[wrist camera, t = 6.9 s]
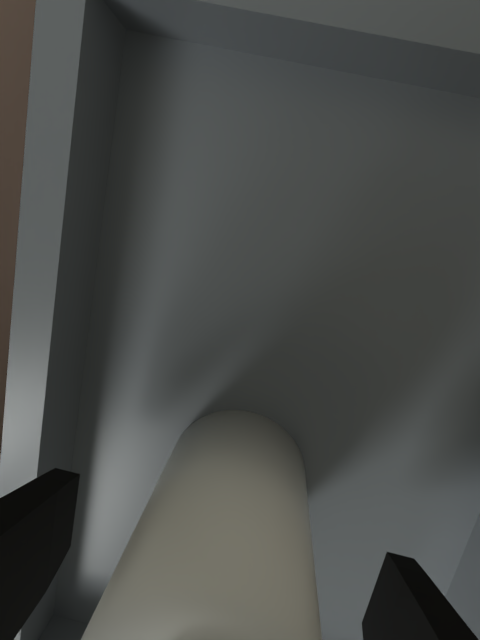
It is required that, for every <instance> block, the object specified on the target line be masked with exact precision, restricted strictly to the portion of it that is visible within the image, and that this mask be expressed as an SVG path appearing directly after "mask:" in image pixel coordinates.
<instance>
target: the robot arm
mask: <svg viewBox="0 0 480 640" xmlns="http://www.w3.org/2000/svg"><path fill="white" fill-rule="evenodd" d="M79 479H80V474H78V473H74V472H70V471H66V470H62V469H58V468H54V469H52V470H50V471H48V472H46V473H45V474H43V475H41V476H39V477H37V478H35V479H34V480H32V481H30V482H28V483H26V484H25V485H23V486H21V487H19V488H18V489H16V490H14V491H12V492H10V493H8V494H7V495H5V496H3V497H1V498H0V640H14V638H15V637H16V635H17V634H18V632H19V631H20V630H21V628H22V627H23V625H24V624H25V622H26V621H27V619H28V618H29V616H30V615H31V613H32V612H33V610H34V609H35V608H36V606H37V605H38V603H39V602H40V600H41V599H42V597H43V596H44V594H45V593H46V591H47V589H48V587H49V586H50V584H51V582H52V580H53V578H54V577H55V575H56V573H57V571H58V569H59V567H60V566H61V564H62V562H63V560H64V558H65V556H66V554H67V552H68V551H69V549H70V547H71V540H72V532H73V525H74V517H75V509H76V502H77V494H78V487H79ZM362 632H363V640H479V639H478V638H477V637H476V636H475V634H474V633H473V632H472V631H471V629H470V628H469V627H468V626H467V624H466V623H465V622H464V621H463V619H462V618H461V617H460V615H459V614H458V613H457V612H456V610H455V609H454V608H453V607H452V605H451V604H450V603H449V601H448V600H447V599H446V598H445V596H444V595H443V594H442V592H441V591H440V590H439V589H438V587H437V586H436V585H435V584H434V582H433V581H432V580H431V578H430V577H429V576H428V575H427V573H426V572H425V571H424V570H423V568H422V567H421V566H420V565H419V564H418V562H417V561H416V560H415V559H414V558H410V557H406V556H402V555H398V554H394V553H390V552H387V553H386V556H385V558H384V561H383V564H382V567H381V570H380V573H379V575H378V578H377V581H376V584H375V587H374V590H373V592H372V595H371V598H370V601H369V604H368V607H367V609H366V612H365V615H364V618H363V621H362Z"/></svg>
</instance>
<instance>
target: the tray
mask: <svg viewBox="0 0 480 640" xmlns="http://www.w3.org/2000/svg"><path fill="white" fill-rule="evenodd" d="M224 410H243V411H249V412H253V413H256V414H260V415H262V416H264V417H267V418H269V419H270V420H272V421H274V422H275V423H277V424H278V425H280V426H281V427H282V428H283V429H284V430H285V431H286V432H287V433H288V434H289V435H290V436H291V437H292V439H293V440H294V441H295V443H296V444H297V446H298V448H299V450H300V452H301V455H302V458H303V462H304V467H305V477H306V487H307V496H308V506H309V516H310V526H311V536H312V545H313V555H314V565H315V575H316V585H317V595H318V604H319V614H320V624H321V634H322V640H363V632H362V621H363V618H364V615H365V612H366V609H367V607H368V604H369V601H370V598H371V595H372V592H373V590H374V587H375V584H376V581H377V578H378V575H379V573H380V570H381V567H382V564H383V561H384V558H385V556H386V553H387V552H390V553H394V554H398V555H402V556H406V557H410V558H414V559H415V560H416V561H417V562H418V564H419V565H420V566H421V567H422V568H423V570H424V571H425V572H426V573H427V575H428V576H429V577H430V578H431V580H432V581H433V582H434V584H435V585H436V586H437V587H438V589H439V590H440V591H441V592H442V594H443V595H444V596H445V598H446V599H447V600H448V601H449V603H450V604H451V605H452V607H453V608H454V609H455V610H456V612H457V613H458V614H459V615H460V617H461V618H462V619H463V621H464V622H465V623H466V624H467V626H468V627H469V628H470V629H471V631H472V632H473V633H474V634H475V636H476V637H477V638H478V639H479V640H480V0H36V7H35V20H34V33H33V46H32V59H31V72H30V85H29V98H28V111H27V123H26V136H25V149H24V162H23V175H22V188H21V201H20V214H19V227H18V240H17V253H16V266H15V279H14V292H13V305H12V318H11V331H10V343H9V356H8V369H7V382H6V395H5V408H4V421H3V434H2V447H1V460H0V498H1V497H3V496H5V495H7V494H8V493H10V492H12V491H14V490H16V489H18V488H19V487H21V486H23V485H25V484H26V483H28V482H30V481H32V480H34V479H35V478H37V477H39V476H41V475H43V474H45V473H46V472H48V471H50V470H52V469H54V468H58V469H62V470H66V471H70V472H74V473H78V474H80V479H79V487H78V494H77V502H76V509H75V517H74V525H73V532H72V540H71V547H70V549H69V551H68V552H67V554H66V556H65V558H64V560H63V562H62V564H61V566H60V567H59V569H58V571H57V573H56V575H55V577H54V578H53V580H52V582H51V584H50V586H49V587H48V589H47V591H46V593H45V594H44V596H43V597H42V599H41V600H40V602H39V603H38V605H37V606H36V608H35V609H34V610H33V612H32V613H31V615H30V616H29V618H28V619H27V621H26V622H25V624H24V625H23V627H22V628H21V630H20V631H19V632H18V634H17V635H16V637H15V638H14V640H81V638H82V636H83V634H84V632H85V630H86V628H87V626H88V624H89V622H90V620H91V618H92V615H93V613H94V611H95V609H96V607H97V605H98V603H99V601H100V599H101V597H102V595H103V593H104V591H105V589H106V587H107V585H108V583H109V581H110V578H111V576H112V574H113V572H114V570H115V568H116V566H117V564H118V562H119V560H120V558H121V556H122V554H123V552H124V550H125V548H126V546H127V544H128V542H129V539H130V537H131V535H132V533H133V531H134V529H135V527H136V525H137V523H138V521H139V519H140V517H141V515H142V513H143V511H144V509H145V507H146V505H147V503H148V500H149V498H150V496H151V494H152V492H153V490H154V488H155V486H156V484H157V482H158V480H159V478H160V476H161V474H162V472H163V470H164V468H165V466H166V463H167V461H168V459H169V457H170V455H171V453H172V451H173V449H174V447H175V445H176V443H177V441H178V439H179V438H180V436H181V435H182V434H183V432H184V431H185V430H186V429H187V428H188V427H189V426H190V425H191V424H192V423H194V422H195V421H197V420H198V419H200V418H202V417H204V416H206V415H209V414H212V413H215V412H219V411H224Z"/></svg>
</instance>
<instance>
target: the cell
mask: <svg viewBox="0 0 480 640" xmlns="http://www.w3.org/2000/svg"><path fill="white" fill-rule="evenodd" d="M81 640H322V634H321V624H320V614H319V604H318V595H317V585H316V575H315V565H314V555H313V545H312V536H311V526H310V516H309V506H308V496H307V487H306V477H305V467H304V462H303V458H302V455H301V452H300V450H299V448H298V446H297V444H296V443H295V441H294V440H293V439H292V437H291V436H290V435H289V434H288V433H287V432H286V431H285V430H284V429H283V428H282V427H281V426H280V425H278V424H277V423H275V422H274V421H272V420H270V419H269V418H267V417H264V416H262V415H260V414H256V413H253V412H249V411H243V410H224V411H219V412H215V413H212V414H209V415H206V416H204V417H202V418H200V419H198V420H197V421H195V422H194V423H192V424H191V425H190V426H189V427H188V428H187V429H186V430H185V431H184V432H183V434H182V435H181V436H180V438H179V439H178V441H177V443H176V445H175V447H174V449H173V451H172V453H171V455H170V457H169V459H168V461H167V463H166V466H165V468H164V470H163V472H162V474H161V476H160V478H159V480H158V482H157V484H156V486H155V488H154V490H153V492H152V494H151V496H150V498H149V500H148V503H147V505H146V507H145V509H144V511H143V513H142V515H141V517H140V519H139V521H138V523H137V525H136V527H135V529H134V531H133V533H132V535H131V537H130V539H129V542H128V544H127V546H126V548H125V550H124V552H123V554H122V556H121V558H120V560H119V562H118V564H117V566H116V568H115V570H114V572H113V574H112V576H111V578H110V581H109V583H108V585H107V587H106V589H105V591H104V593H103V595H102V597H101V599H100V601H99V603H98V605H97V607H96V609H95V611H94V613H93V615H92V618H91V620H90V622H89V624H88V626H87V628H86V630H85V632H84V634H83V636H82V638H81Z"/></svg>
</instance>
